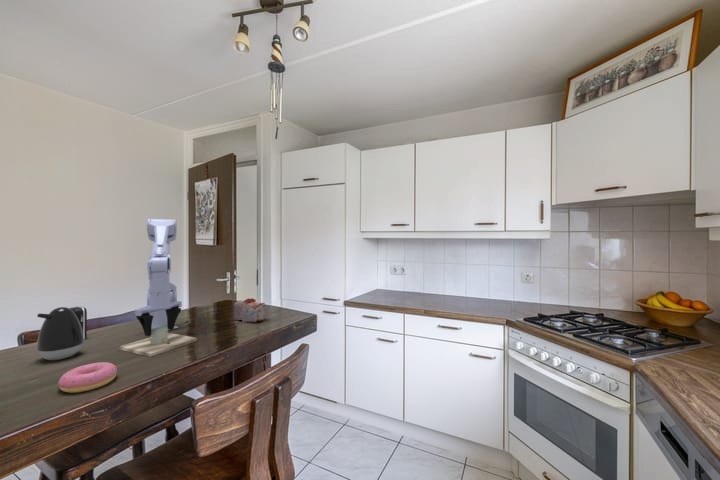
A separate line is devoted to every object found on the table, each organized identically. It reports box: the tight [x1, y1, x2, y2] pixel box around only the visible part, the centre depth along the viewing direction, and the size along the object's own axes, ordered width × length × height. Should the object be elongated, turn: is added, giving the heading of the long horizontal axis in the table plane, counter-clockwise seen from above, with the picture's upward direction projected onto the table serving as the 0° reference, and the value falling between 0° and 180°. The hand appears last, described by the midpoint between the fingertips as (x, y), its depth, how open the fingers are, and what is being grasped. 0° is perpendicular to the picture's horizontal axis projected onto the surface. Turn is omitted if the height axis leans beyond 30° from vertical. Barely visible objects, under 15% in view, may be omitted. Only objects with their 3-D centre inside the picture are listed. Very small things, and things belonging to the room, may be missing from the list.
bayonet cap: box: [150, 325, 169, 344], centre depth 103 cm, size 5×6×5 cm
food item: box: [233, 297, 266, 323], centre depth 134 cm, size 14×8×10 cm, turn 68°
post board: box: [118, 332, 198, 358], centre depth 103 cm, size 16×16×4 cm
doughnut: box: [58, 361, 119, 394], centre depth 75 cm, size 11×11×4 cm
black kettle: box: [36, 306, 85, 361], centre depth 92 cm, size 10×10×15 cm
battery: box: [68, 306, 88, 340], centre depth 109 cm, size 7×4×11 cm, turn 61°
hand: (159, 332), depth 103 cm, fingers open, 7 cm apart
